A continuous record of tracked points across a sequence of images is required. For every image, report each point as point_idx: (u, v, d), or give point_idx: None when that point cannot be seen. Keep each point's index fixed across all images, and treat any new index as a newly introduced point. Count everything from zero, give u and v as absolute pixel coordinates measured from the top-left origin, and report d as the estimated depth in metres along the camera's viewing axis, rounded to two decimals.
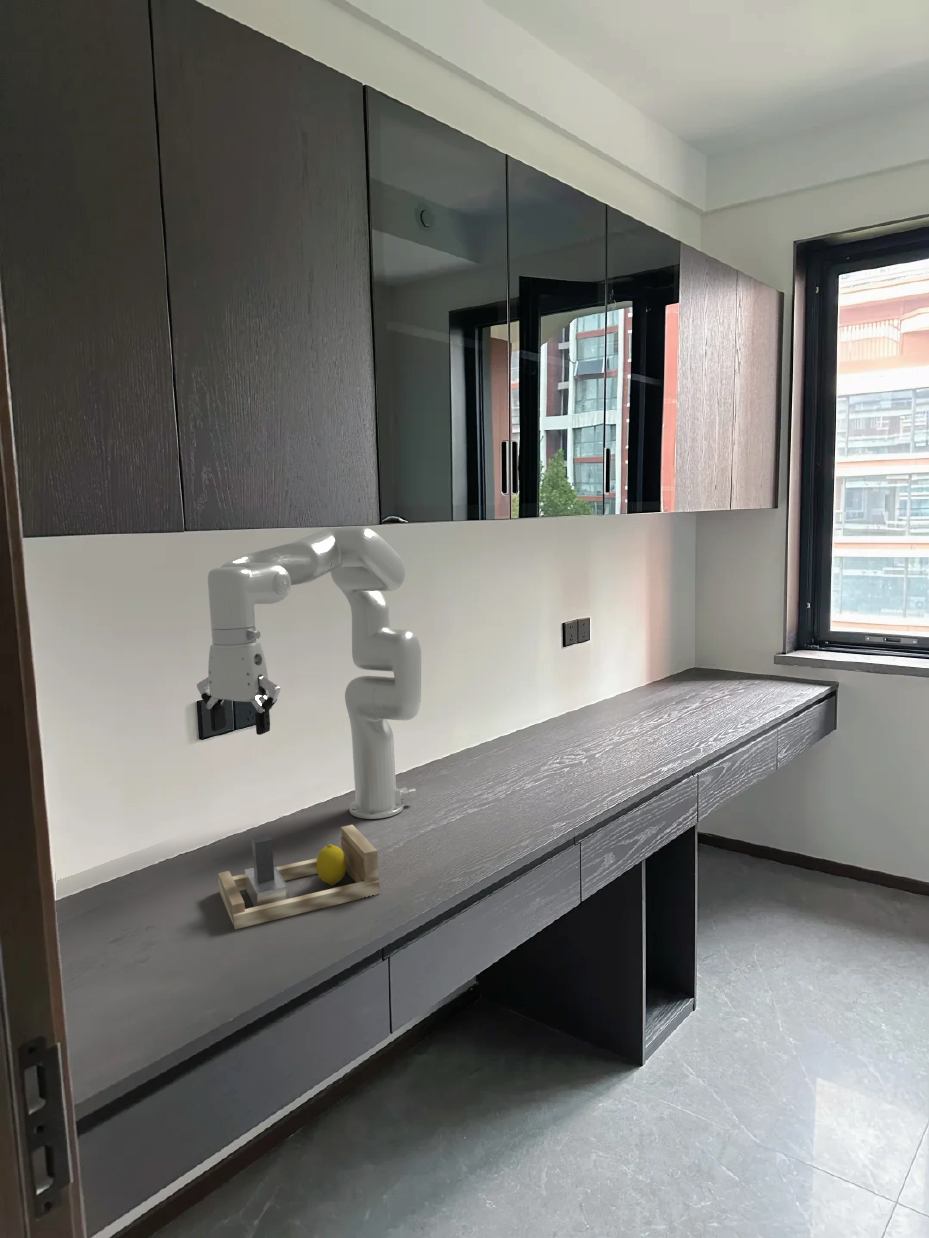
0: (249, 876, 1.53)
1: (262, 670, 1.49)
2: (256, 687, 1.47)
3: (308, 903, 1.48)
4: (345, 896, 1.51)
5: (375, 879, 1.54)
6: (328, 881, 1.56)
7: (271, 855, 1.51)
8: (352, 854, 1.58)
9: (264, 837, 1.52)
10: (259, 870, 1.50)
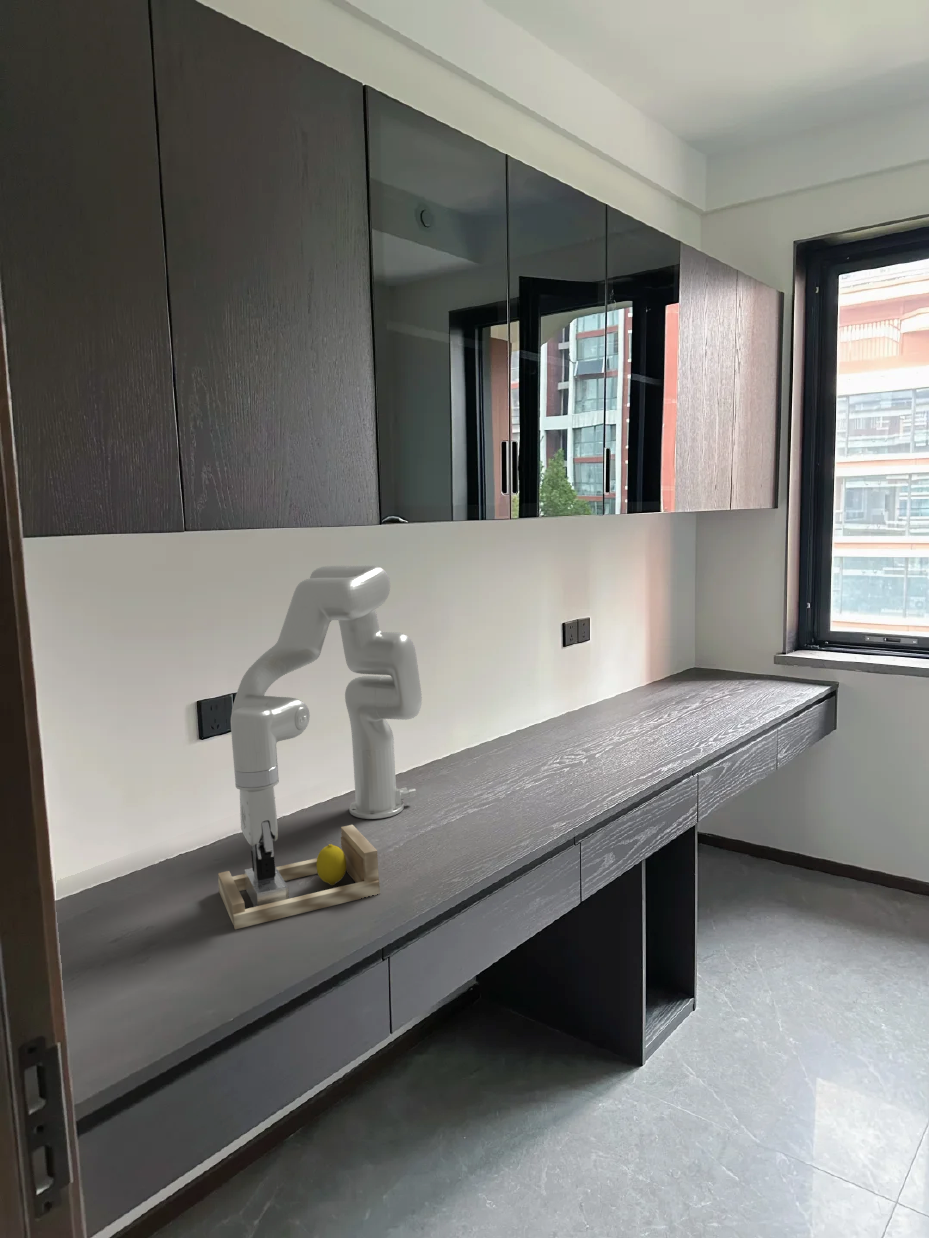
0: (249, 876, 1.53)
1: None
2: None
3: (308, 903, 1.48)
4: (345, 896, 1.51)
5: (375, 879, 1.54)
6: (328, 881, 1.56)
7: None
8: (352, 854, 1.58)
9: None
10: None
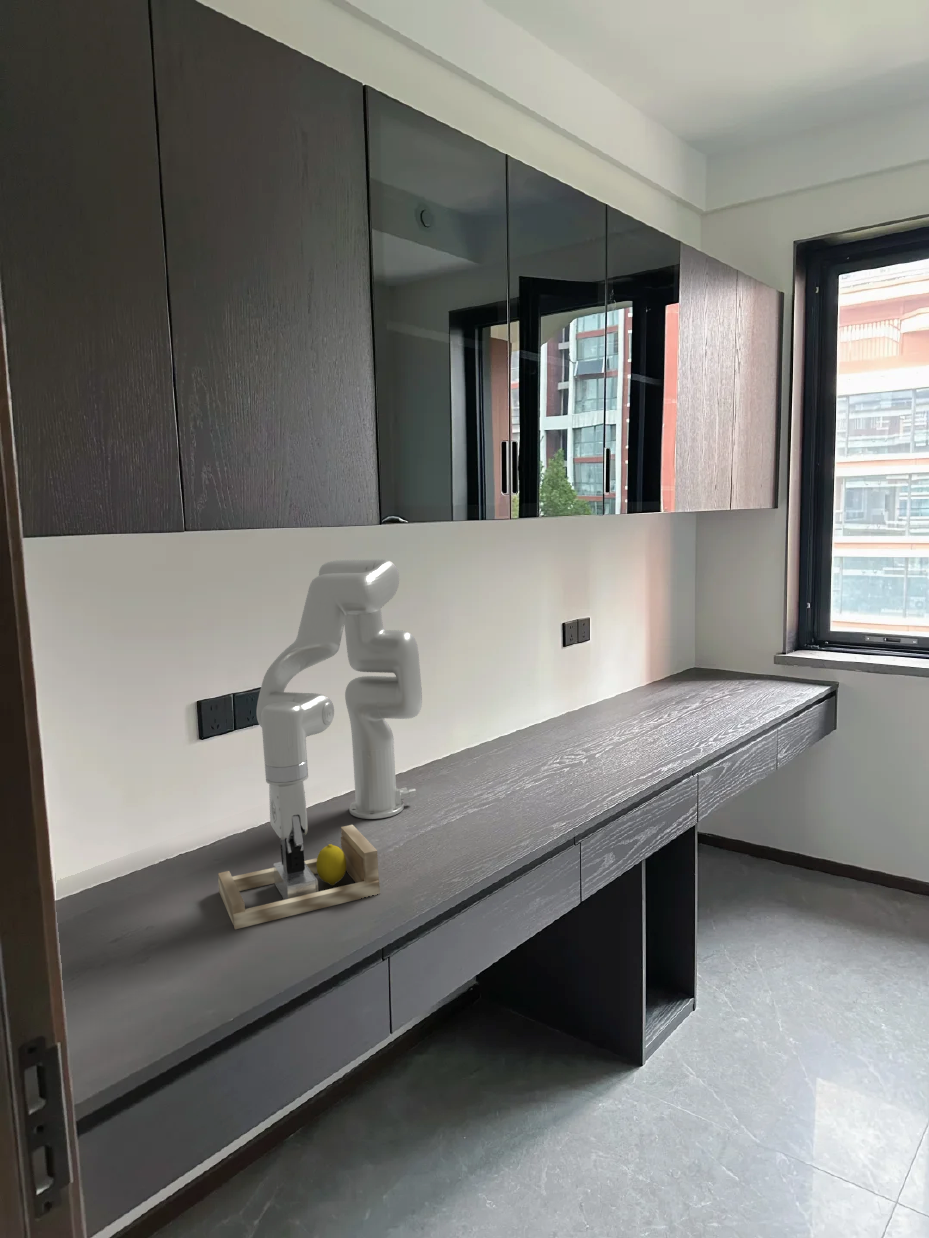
0: (278, 870, 1.56)
1: None
2: None
3: (308, 903, 1.48)
4: (345, 896, 1.51)
5: (375, 879, 1.54)
6: (328, 881, 1.56)
7: None
8: (352, 854, 1.58)
9: None
10: None
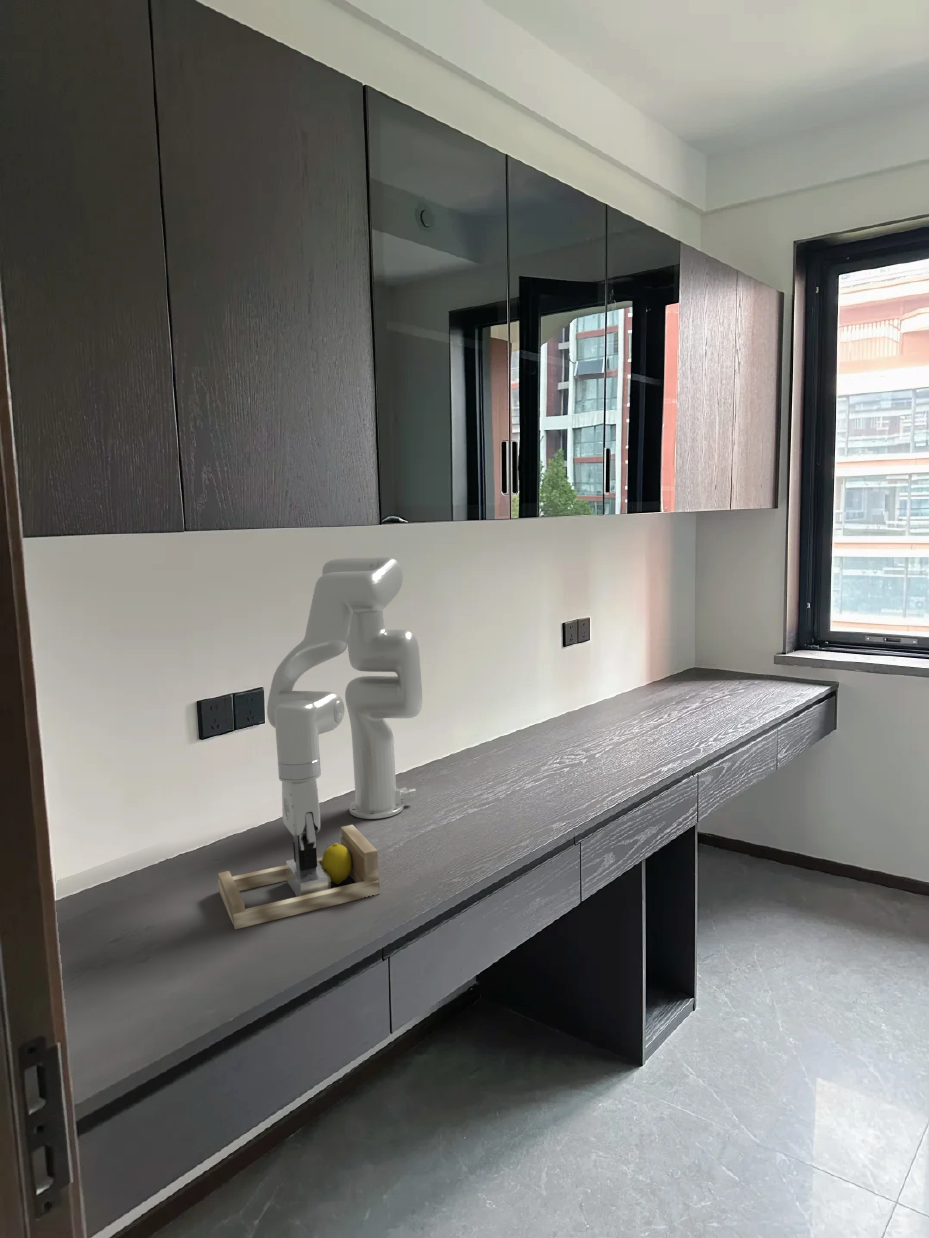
0: (291, 867, 1.57)
1: None
2: None
3: (308, 903, 1.48)
4: (345, 896, 1.51)
5: (375, 879, 1.54)
6: (333, 880, 1.56)
7: None
8: (352, 854, 1.58)
9: None
10: None
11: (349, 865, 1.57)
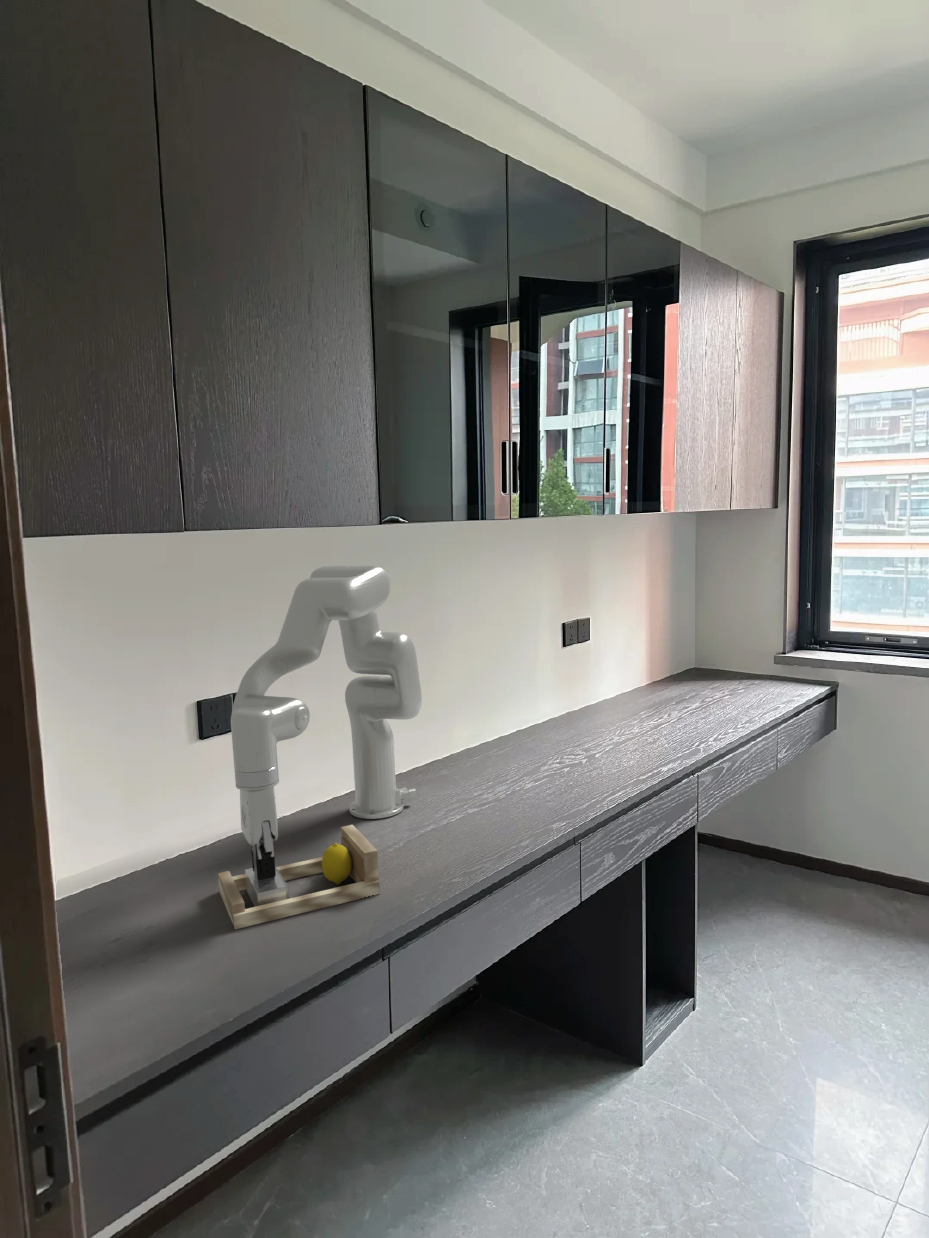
0: (249, 876, 1.53)
1: None
2: None
3: (308, 903, 1.48)
4: (345, 896, 1.51)
5: (375, 879, 1.54)
6: (333, 880, 1.56)
7: None
8: (352, 854, 1.58)
9: None
10: None
11: (349, 865, 1.57)
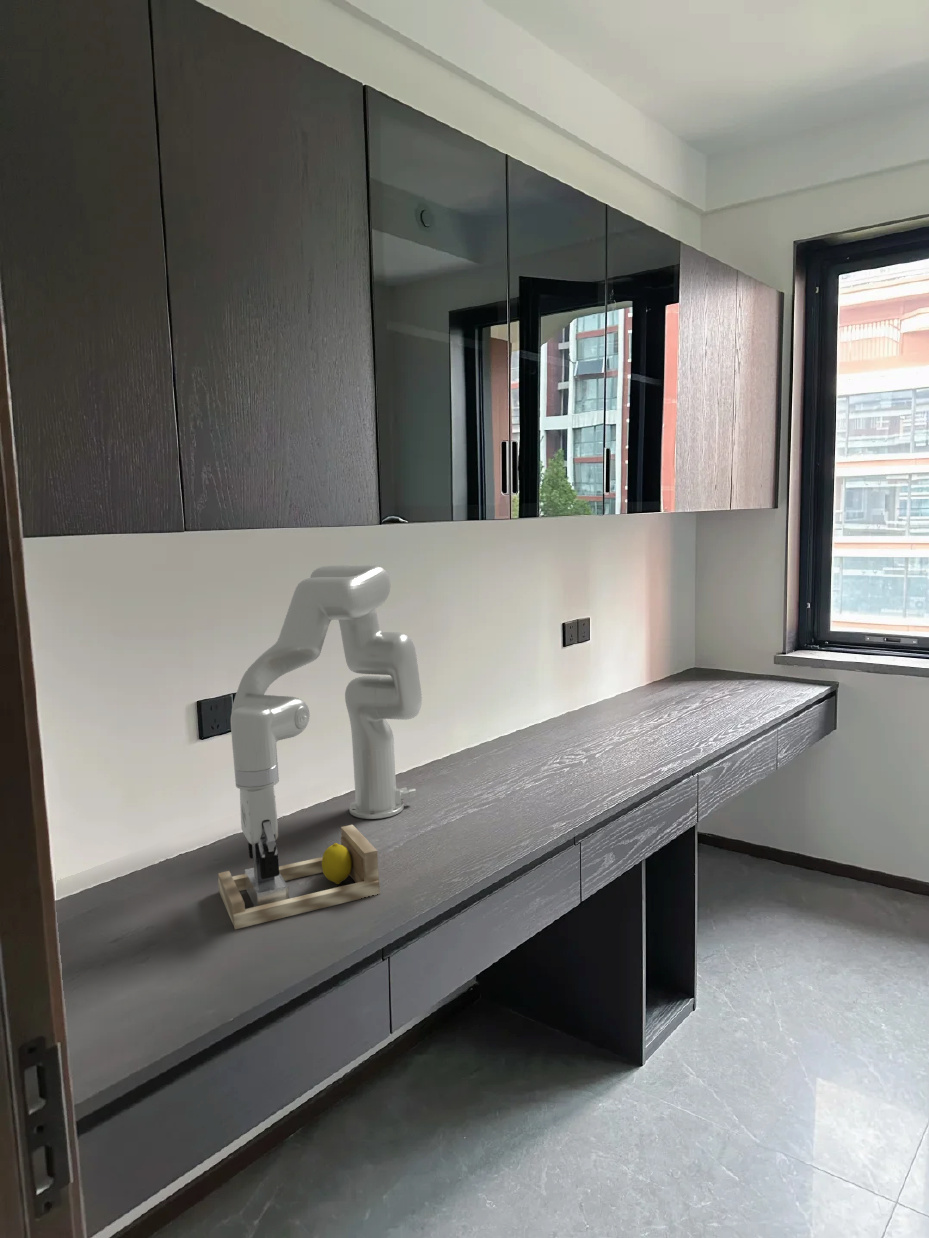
0: (249, 876, 1.53)
1: None
2: None
3: (308, 903, 1.48)
4: (345, 896, 1.51)
5: (375, 879, 1.54)
6: (333, 880, 1.56)
7: None
8: (352, 854, 1.58)
9: (264, 837, 1.52)
10: (259, 870, 1.50)
11: (349, 865, 1.57)
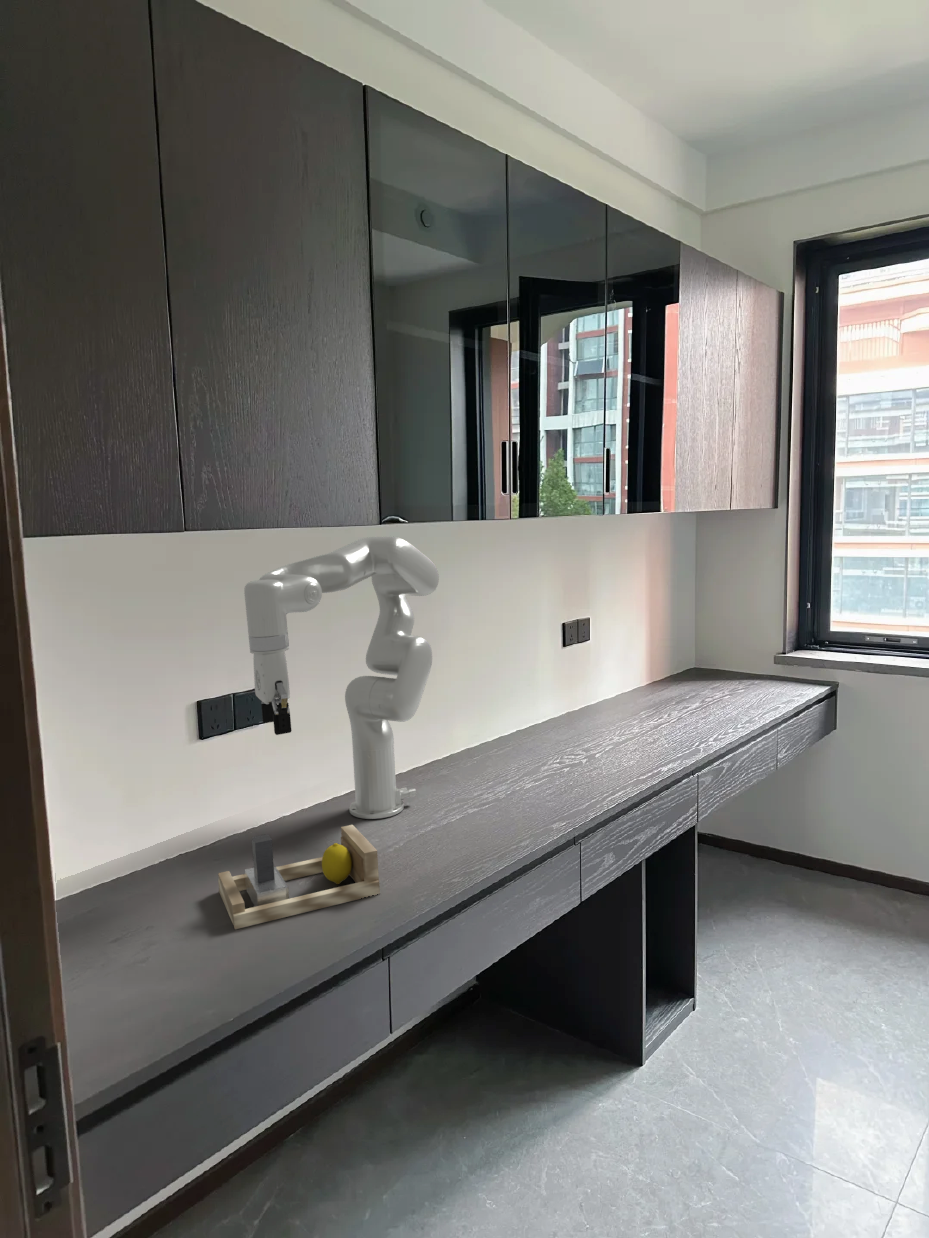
0: (249, 876, 1.53)
1: None
2: None
3: (308, 903, 1.48)
4: (345, 896, 1.51)
5: (375, 879, 1.54)
6: (333, 880, 1.56)
7: (271, 855, 1.51)
8: (352, 854, 1.58)
9: (264, 837, 1.52)
10: (259, 870, 1.50)
11: (349, 865, 1.57)
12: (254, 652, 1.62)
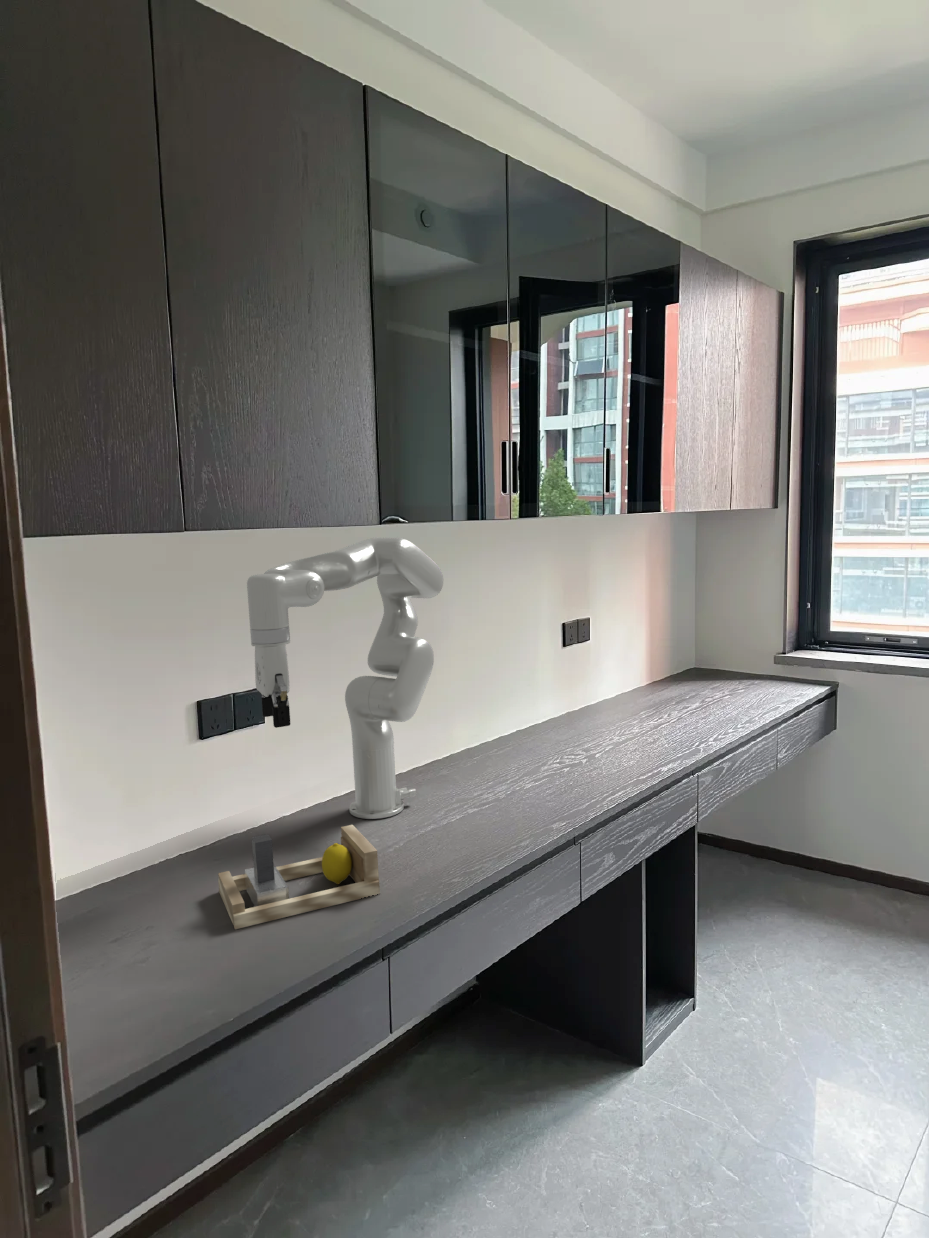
0: (249, 876, 1.53)
1: None
2: None
3: (308, 903, 1.48)
4: (345, 896, 1.51)
5: (375, 879, 1.54)
6: (333, 880, 1.56)
7: (271, 855, 1.51)
8: (352, 854, 1.58)
9: (264, 837, 1.52)
10: (259, 870, 1.50)
11: (349, 865, 1.57)
12: (255, 645, 1.64)
